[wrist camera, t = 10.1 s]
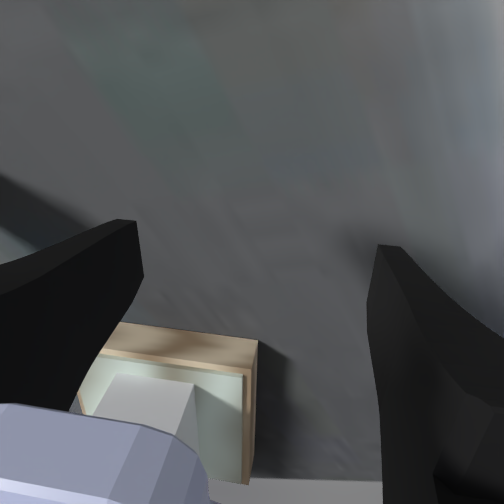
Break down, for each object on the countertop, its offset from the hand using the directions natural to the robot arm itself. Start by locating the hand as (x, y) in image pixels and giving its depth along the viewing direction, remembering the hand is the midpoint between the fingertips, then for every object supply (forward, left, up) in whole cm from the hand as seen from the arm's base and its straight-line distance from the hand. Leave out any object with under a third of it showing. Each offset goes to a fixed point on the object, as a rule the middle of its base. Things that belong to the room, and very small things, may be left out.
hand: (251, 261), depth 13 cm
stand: (+7, +18, -9) cm, 21 cm away
